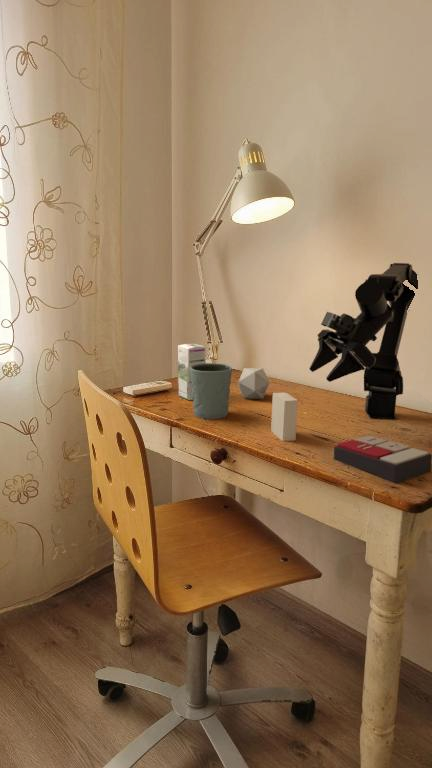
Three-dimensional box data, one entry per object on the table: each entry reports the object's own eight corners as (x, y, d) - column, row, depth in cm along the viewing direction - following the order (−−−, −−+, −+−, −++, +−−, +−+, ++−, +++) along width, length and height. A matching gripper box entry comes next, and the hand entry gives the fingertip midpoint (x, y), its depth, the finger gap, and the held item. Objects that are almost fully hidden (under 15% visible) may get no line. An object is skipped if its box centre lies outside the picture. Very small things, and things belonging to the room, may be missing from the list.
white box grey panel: (284, 430, 133) (286, 392, 131) (296, 440, 126) (298, 400, 124) (271, 431, 132) (272, 392, 130) (282, 441, 125) (284, 400, 123)
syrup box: (205, 398, 159) (207, 346, 156) (187, 400, 156) (188, 347, 153) (194, 393, 164) (195, 342, 160) (176, 396, 160) (177, 344, 157)
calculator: (369, 433, 121) (433, 450, 109) (368, 453, 122) (431, 472, 110) (333, 442, 115) (397, 461, 103) (332, 463, 115) (396, 484, 104)
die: (258, 405, 155) (278, 374, 156) (230, 387, 156) (250, 357, 157) (256, 408, 164) (274, 379, 165) (229, 391, 164) (248, 362, 165)
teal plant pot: (238, 414, 144) (240, 367, 142) (211, 422, 137) (212, 373, 134) (209, 406, 151) (209, 361, 148) (181, 413, 144) (181, 366, 141)
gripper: (327, 294, 134) (281, 343, 135) (366, 304, 117) (313, 360, 117) (356, 327, 138) (311, 374, 139) (398, 341, 121) (346, 395, 121)
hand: (318, 375), depth 129 cm, fingers open, 9 cm apart
